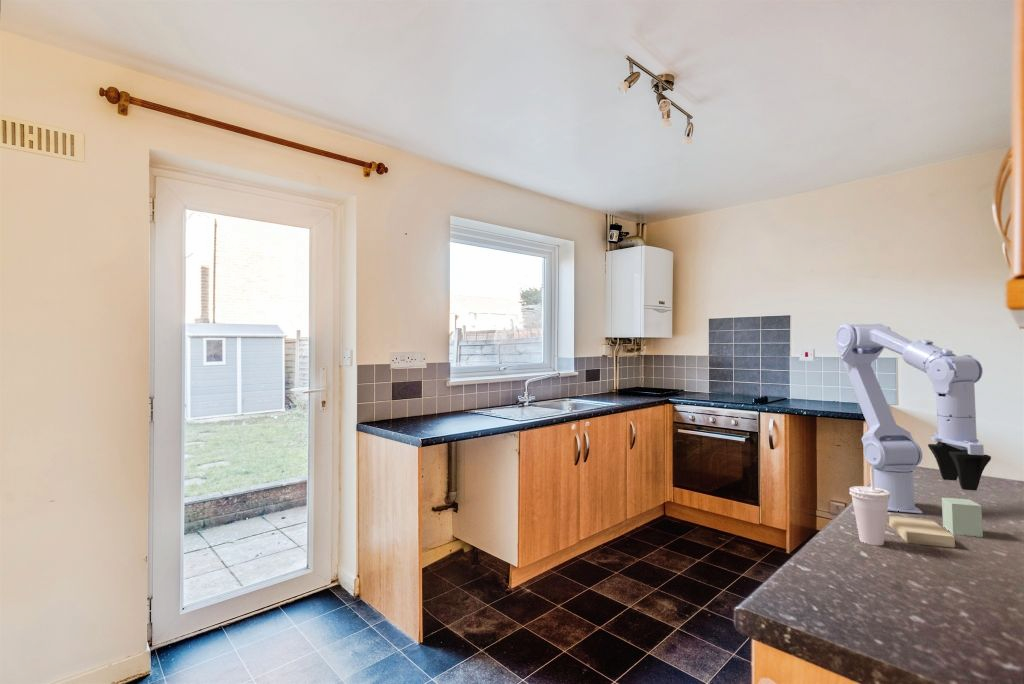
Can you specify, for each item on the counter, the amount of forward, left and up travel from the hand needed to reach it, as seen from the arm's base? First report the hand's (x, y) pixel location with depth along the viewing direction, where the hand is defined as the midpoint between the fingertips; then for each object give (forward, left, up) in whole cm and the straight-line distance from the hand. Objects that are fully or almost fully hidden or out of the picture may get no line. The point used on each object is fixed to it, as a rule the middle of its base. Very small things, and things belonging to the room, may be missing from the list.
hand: (959, 484), depth 96 cm
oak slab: (+5, -8, -9) cm, 13 cm away
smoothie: (+11, -18, -10) cm, 23 cm away
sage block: (-1, 0, -9) cm, 9 cm away
